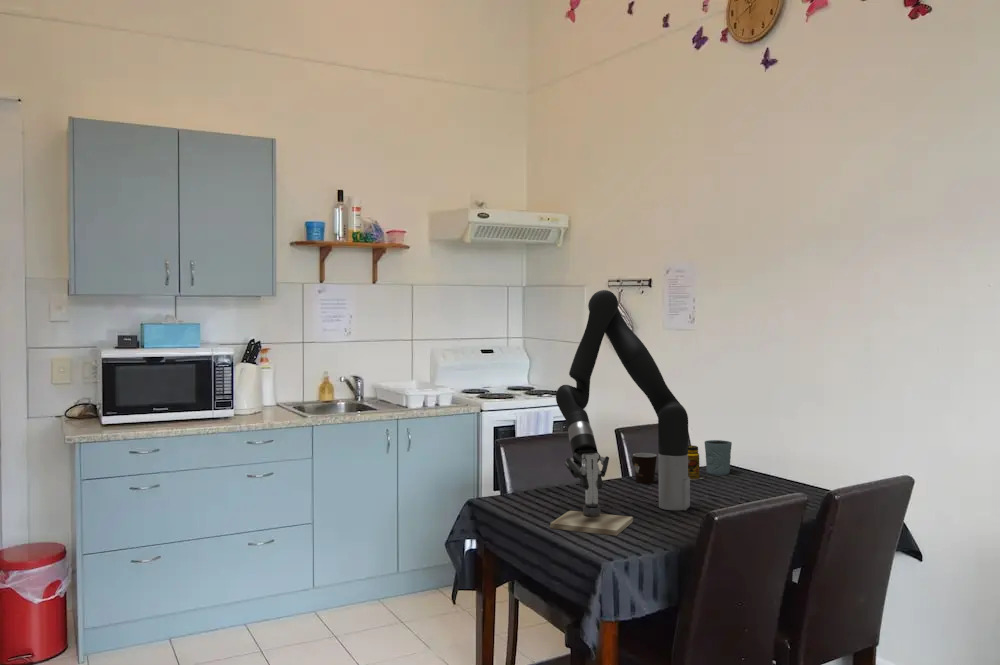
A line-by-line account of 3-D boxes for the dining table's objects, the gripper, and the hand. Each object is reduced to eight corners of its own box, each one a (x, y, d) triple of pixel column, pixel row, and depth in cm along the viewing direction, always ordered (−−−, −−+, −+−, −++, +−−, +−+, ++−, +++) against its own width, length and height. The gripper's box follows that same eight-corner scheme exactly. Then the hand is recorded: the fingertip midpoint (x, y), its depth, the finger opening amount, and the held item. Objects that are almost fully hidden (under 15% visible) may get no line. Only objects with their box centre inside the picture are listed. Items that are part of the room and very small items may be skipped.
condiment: (688, 480, 294) (688, 448, 294) (675, 476, 302) (675, 444, 302) (705, 478, 297) (704, 446, 297) (691, 474, 305) (691, 443, 305)
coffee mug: (659, 484, 288) (658, 457, 288) (635, 484, 288) (634, 457, 288) (653, 477, 300) (653, 451, 300) (630, 478, 300) (630, 451, 300)
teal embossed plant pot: (705, 475, 304) (705, 443, 304) (703, 469, 314) (703, 439, 314) (733, 475, 302) (733, 444, 302) (730, 470, 312) (730, 439, 312)
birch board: (632, 521, 238) (632, 516, 237) (616, 535, 223) (616, 530, 223) (569, 515, 246) (569, 510, 246) (550, 528, 232) (550, 523, 232)
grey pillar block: (597, 512, 237) (597, 452, 237) (602, 516, 233) (601, 455, 232) (581, 513, 237) (580, 453, 236) (585, 517, 232) (585, 456, 231)
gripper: (561, 433, 240) (572, 482, 228) (606, 431, 243) (619, 479, 231) (557, 447, 246) (567, 496, 234) (601, 446, 248) (614, 493, 236)
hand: (593, 487), depth 232 cm, fingers closed on grey pillar block, 3 cm apart
